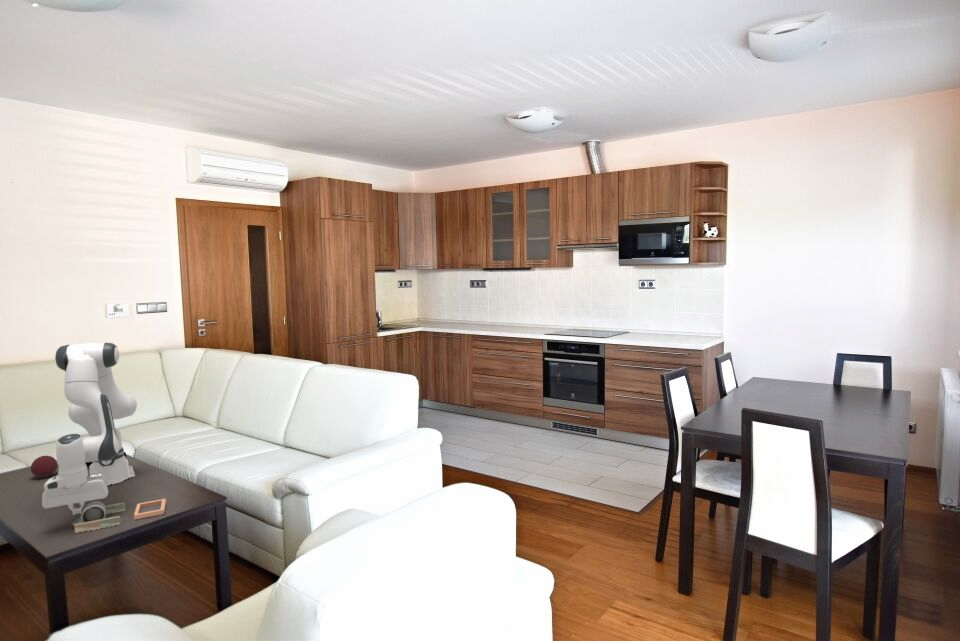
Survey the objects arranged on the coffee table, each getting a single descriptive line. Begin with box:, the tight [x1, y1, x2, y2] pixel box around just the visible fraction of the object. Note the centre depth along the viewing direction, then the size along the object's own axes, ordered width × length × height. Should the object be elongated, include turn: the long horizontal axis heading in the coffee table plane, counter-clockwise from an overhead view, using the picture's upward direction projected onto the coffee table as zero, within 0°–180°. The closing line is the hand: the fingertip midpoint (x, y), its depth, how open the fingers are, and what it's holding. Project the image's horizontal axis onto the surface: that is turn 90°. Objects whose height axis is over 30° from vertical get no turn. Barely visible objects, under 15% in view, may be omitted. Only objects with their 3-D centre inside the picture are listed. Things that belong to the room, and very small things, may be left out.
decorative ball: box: [30, 455, 59, 479], centre depth 266 cm, size 10×10×10 cm
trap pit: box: [133, 498, 167, 521], centre depth 225 cm, size 12×10×2 cm
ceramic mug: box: [72, 500, 107, 527], centre depth 216 cm, size 11×8×8 cm
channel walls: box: [73, 502, 126, 534], centre depth 217 cm, size 15×14×3 cm
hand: (77, 513), depth 214 cm, fingers closed
